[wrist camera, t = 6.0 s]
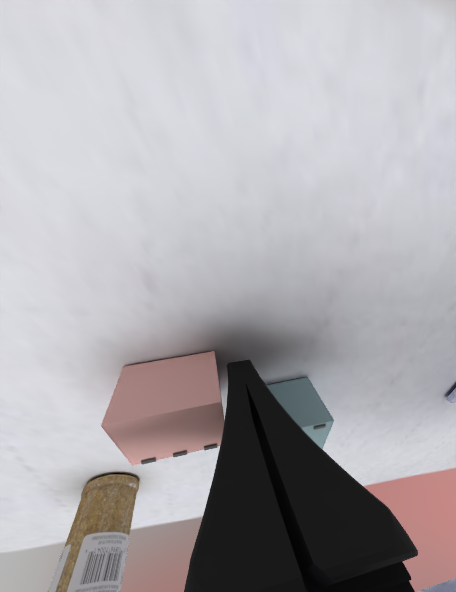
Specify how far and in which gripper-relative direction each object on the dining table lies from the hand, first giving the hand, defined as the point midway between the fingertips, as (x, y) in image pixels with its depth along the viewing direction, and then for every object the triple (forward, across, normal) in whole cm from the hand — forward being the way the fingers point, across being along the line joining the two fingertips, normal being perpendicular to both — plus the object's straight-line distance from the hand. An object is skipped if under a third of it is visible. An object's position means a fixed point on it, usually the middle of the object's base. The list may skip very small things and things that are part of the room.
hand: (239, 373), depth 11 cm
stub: (+1, +4, +1) cm, 4 cm away
